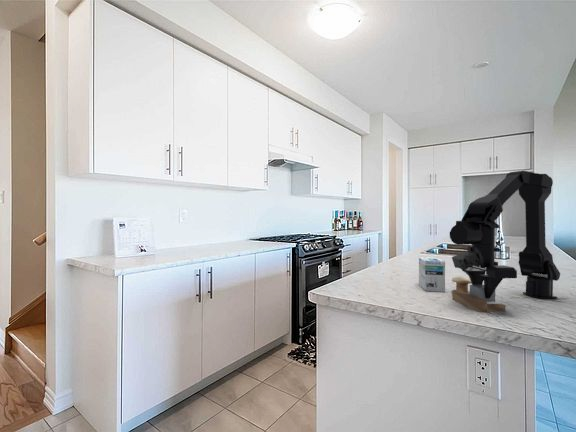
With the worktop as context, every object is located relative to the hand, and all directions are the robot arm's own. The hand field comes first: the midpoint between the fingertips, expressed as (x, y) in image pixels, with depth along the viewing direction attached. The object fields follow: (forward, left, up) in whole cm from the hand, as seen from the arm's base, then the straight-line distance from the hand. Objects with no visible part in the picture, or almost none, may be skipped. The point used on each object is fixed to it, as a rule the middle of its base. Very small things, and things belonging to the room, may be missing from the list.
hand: (482, 296), depth 90 cm
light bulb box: (+4, -20, -3) cm, 21 cm away
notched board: (+1, 0, -3) cm, 3 cm away
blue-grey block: (0, 0, -1) cm, 1 cm away
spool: (-2, -12, -3) cm, 12 cm away
